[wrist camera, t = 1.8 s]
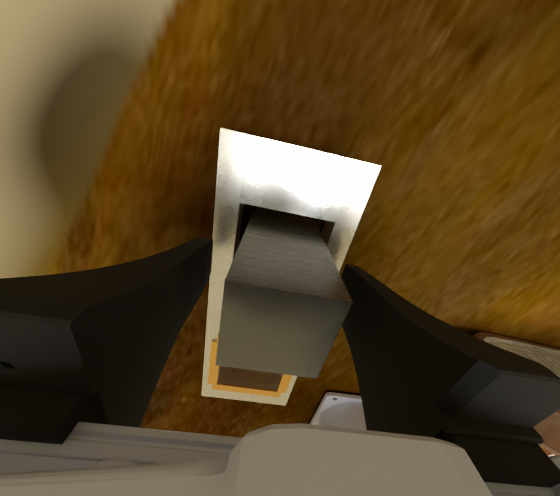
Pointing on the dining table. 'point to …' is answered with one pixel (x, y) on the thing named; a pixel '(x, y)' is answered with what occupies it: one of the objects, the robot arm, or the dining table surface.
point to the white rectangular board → (282, 197)
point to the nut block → (281, 298)
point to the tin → (555, 428)
